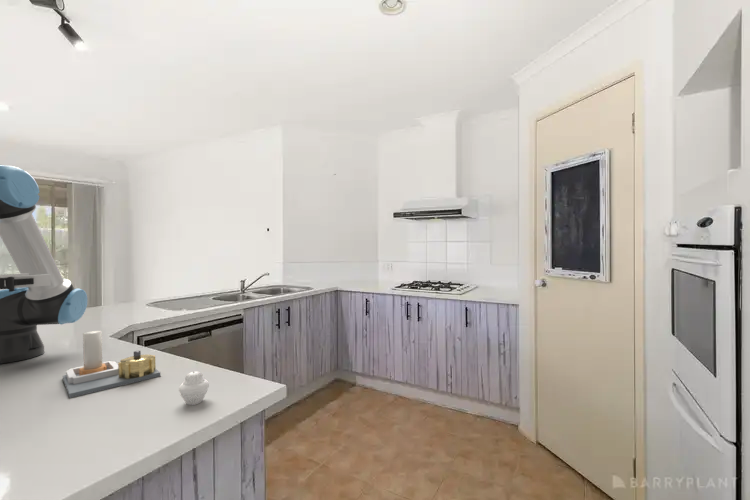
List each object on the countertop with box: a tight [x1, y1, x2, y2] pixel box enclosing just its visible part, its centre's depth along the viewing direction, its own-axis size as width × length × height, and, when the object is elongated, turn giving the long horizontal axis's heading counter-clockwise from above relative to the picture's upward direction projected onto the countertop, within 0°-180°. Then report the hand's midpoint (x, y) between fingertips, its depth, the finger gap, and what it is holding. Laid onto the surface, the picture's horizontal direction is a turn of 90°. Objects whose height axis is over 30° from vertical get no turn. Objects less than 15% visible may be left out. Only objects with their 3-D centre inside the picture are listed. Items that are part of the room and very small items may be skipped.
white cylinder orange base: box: [79, 330, 107, 376], centre depth 97 cm, size 6×6×12 cm
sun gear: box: [117, 350, 157, 379], centre depth 97 cm, size 8×8×6 cm
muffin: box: [178, 371, 210, 406], centre depth 80 cm, size 6×6×7 cm
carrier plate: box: [62, 360, 161, 399], centre depth 97 cm, size 18×19×2 cm
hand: (39, 279), depth 90 cm, fingers open, 13 cm apart
